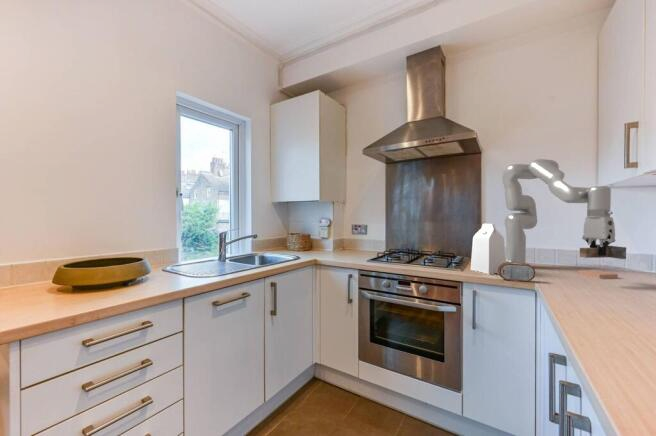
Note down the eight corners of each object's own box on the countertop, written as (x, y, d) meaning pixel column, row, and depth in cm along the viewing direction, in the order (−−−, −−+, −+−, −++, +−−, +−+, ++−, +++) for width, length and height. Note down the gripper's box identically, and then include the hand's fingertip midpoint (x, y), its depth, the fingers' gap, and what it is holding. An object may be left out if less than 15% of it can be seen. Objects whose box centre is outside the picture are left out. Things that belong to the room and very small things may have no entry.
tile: (599, 274, 137) (617, 274, 138) (579, 270, 147) (596, 269, 148) (599, 279, 137) (617, 279, 139) (579, 275, 147) (596, 274, 148)
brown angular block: (597, 259, 120) (597, 247, 120) (569, 255, 132) (570, 244, 132) (625, 258, 121) (626, 247, 121) (596, 254, 133) (596, 244, 133)
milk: (505, 273, 149) (506, 224, 149) (488, 274, 146) (489, 224, 145) (486, 268, 161) (487, 223, 160) (470, 269, 157) (471, 223, 157)
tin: (533, 280, 133) (533, 263, 133) (536, 282, 130) (536, 264, 130) (497, 278, 137) (497, 261, 137) (499, 280, 134) (499, 262, 134)
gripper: (627, 214, 119) (626, 257, 119) (587, 213, 135) (586, 252, 135) (611, 214, 118) (610, 258, 118) (573, 213, 134) (572, 252, 134)
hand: (597, 254), depth 127 cm, fingers closed on brown angular block, 3 cm apart
